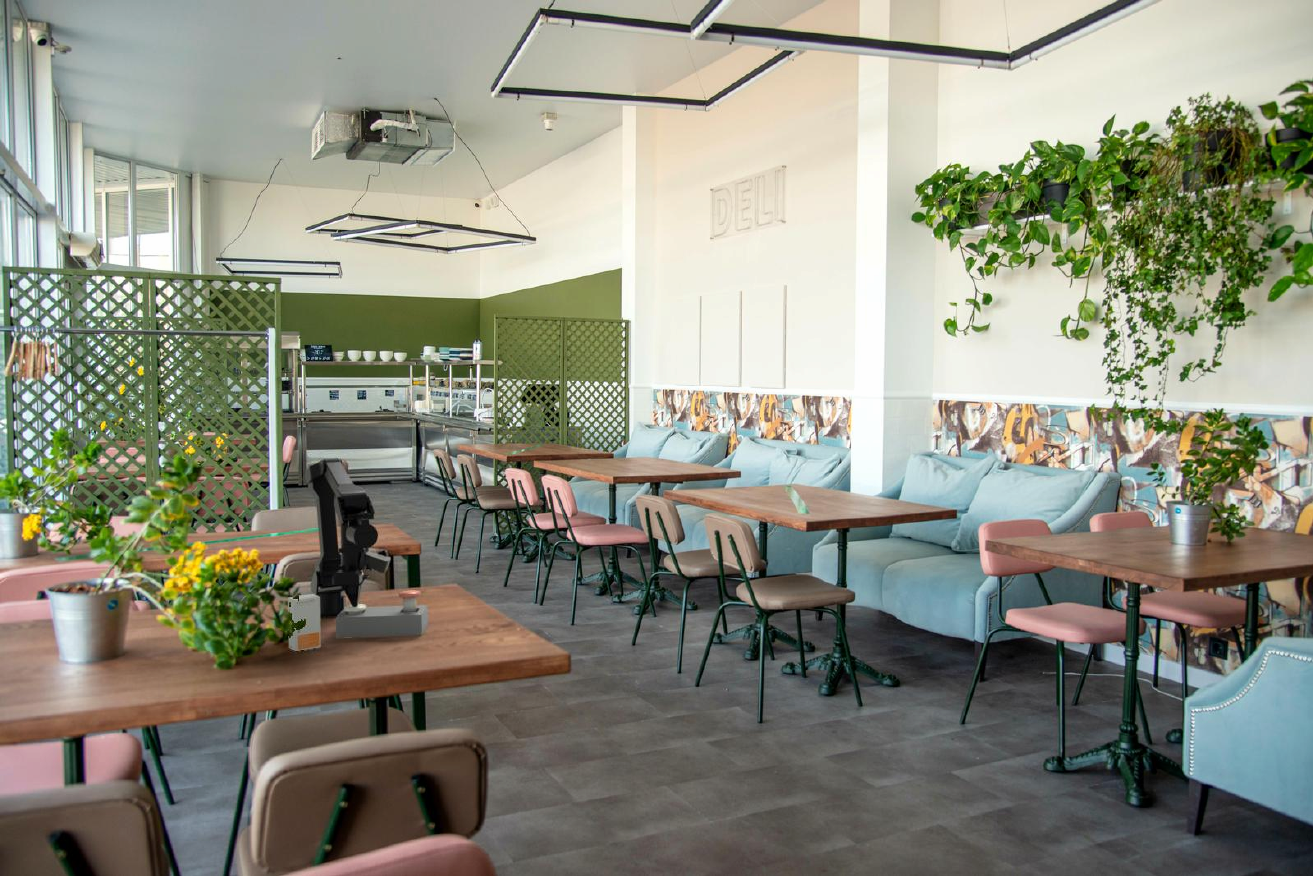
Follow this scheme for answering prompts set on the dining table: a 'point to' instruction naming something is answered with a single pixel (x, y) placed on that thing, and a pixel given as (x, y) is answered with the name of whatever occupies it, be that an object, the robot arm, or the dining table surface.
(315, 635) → the skincare box
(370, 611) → the block
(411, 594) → the red plunger
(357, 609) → the white plunger
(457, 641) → the dining table surface
